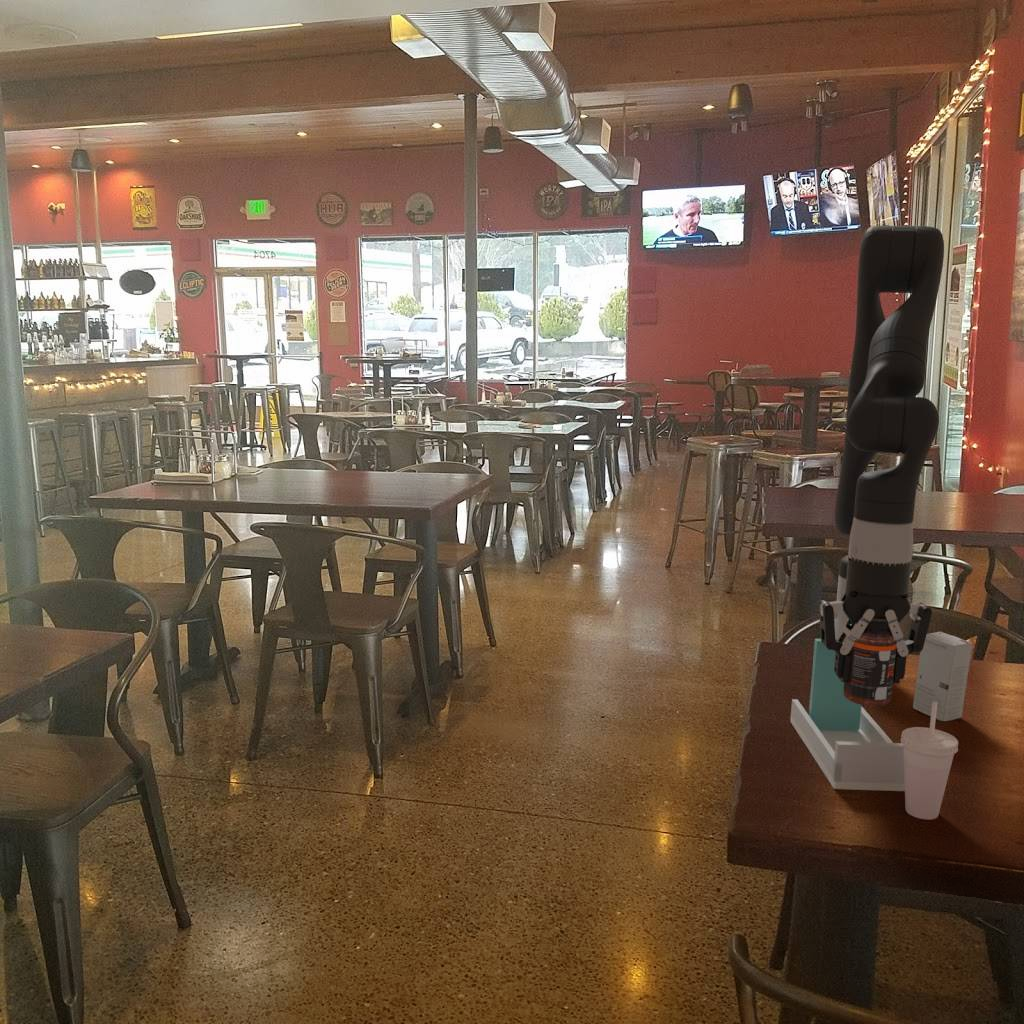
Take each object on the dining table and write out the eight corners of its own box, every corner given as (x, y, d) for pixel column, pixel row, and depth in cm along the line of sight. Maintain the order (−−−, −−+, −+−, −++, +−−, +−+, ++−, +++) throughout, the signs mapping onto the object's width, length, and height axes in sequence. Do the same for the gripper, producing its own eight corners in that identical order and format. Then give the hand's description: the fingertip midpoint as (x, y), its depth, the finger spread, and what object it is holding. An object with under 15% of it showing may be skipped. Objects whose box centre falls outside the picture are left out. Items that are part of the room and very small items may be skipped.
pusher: (807, 725, 143) (814, 638, 141) (856, 726, 143) (864, 639, 141) (810, 728, 142) (817, 641, 140) (859, 729, 142) (867, 642, 140)
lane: (790, 721, 148) (793, 683, 147) (855, 723, 148) (858, 685, 147) (834, 788, 126) (838, 744, 125) (910, 791, 126) (914, 746, 125)
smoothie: (958, 812, 121) (970, 702, 118) (939, 830, 116) (952, 717, 114) (905, 794, 125) (916, 689, 123) (885, 812, 120) (896, 702, 118)
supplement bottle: (894, 710, 126) (903, 624, 124) (845, 705, 127) (853, 620, 125) (887, 693, 132) (895, 611, 129) (840, 689, 133) (847, 607, 131)
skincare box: (911, 709, 154) (918, 633, 152) (931, 704, 156) (939, 630, 154) (944, 723, 149) (953, 645, 146) (965, 718, 151) (973, 641, 149)
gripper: (925, 549, 129) (913, 672, 132) (814, 546, 130) (804, 669, 133) (949, 562, 122) (935, 693, 125) (831, 559, 122) (820, 689, 125)
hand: (868, 680), depth 129 cm, fingers closed on supplement bottle, 6 cm apart
